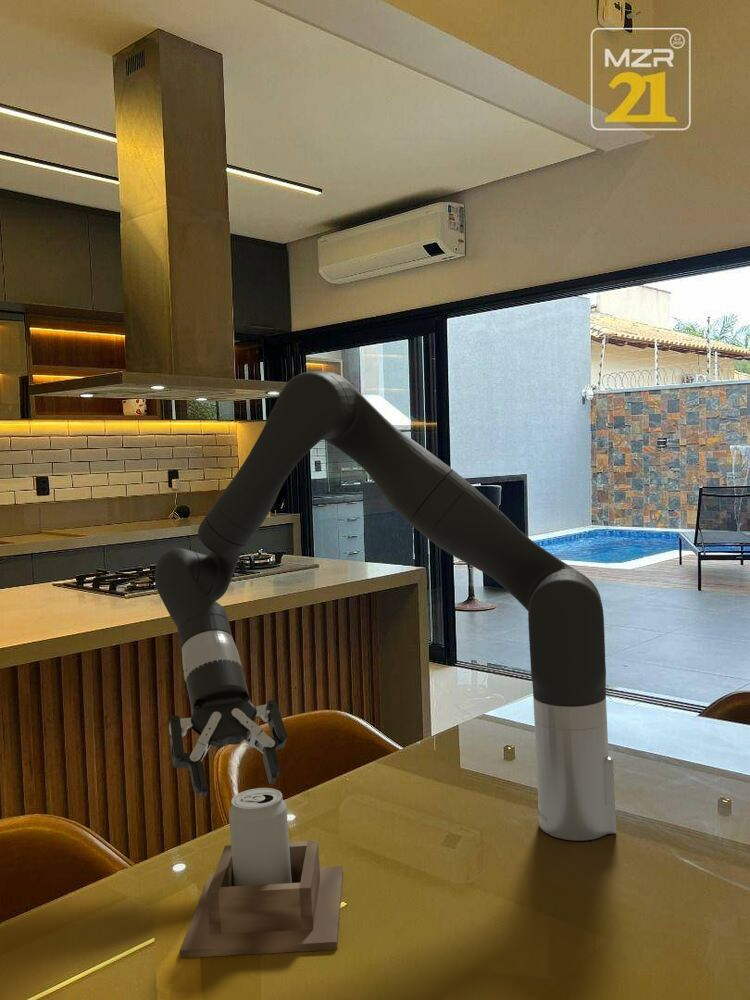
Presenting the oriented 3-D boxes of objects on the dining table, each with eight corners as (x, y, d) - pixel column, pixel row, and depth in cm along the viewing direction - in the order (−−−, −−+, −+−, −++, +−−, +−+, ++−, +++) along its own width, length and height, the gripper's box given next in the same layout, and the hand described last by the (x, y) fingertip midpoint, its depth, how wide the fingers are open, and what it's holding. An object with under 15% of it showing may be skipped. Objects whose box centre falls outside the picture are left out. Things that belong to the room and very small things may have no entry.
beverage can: (283, 918, 93) (275, 809, 93) (226, 914, 95) (219, 808, 94) (299, 887, 100) (293, 786, 99) (246, 885, 101) (239, 784, 100)
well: (343, 872, 104) (340, 829, 104) (337, 949, 88) (333, 899, 88) (210, 879, 104) (207, 837, 104) (180, 957, 88) (176, 907, 88)
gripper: (161, 666, 110) (182, 785, 100) (270, 650, 115) (300, 762, 105) (157, 696, 115) (178, 813, 105) (262, 680, 120) (290, 789, 111)
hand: (239, 787), depth 105 cm, fingers open, 8 cm apart
